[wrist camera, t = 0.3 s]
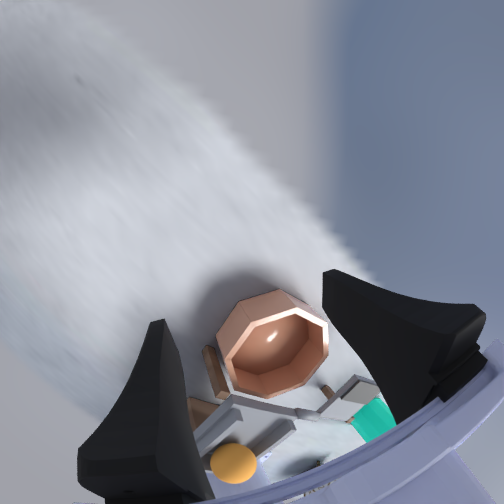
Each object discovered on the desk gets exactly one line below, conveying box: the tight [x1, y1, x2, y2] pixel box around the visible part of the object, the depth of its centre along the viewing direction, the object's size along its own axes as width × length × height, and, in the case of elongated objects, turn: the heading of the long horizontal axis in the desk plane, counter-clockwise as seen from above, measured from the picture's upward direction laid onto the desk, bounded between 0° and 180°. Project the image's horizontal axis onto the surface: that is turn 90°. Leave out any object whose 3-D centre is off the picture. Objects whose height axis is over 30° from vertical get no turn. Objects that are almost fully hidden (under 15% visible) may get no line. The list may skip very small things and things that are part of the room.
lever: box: [193, 374, 381, 474], centre depth 22 cm, size 14×15×3 cm
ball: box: [210, 443, 257, 484], centre depth 20 cm, size 4×4×4 cm
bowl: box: [216, 289, 328, 399], centre depth 24 cm, size 9×9×4 cm
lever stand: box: [187, 345, 355, 432], centre depth 25 cm, size 9×17×6 cm, turn 55°
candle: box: [351, 398, 396, 443], centre depth 31 cm, size 6×6×12 cm
